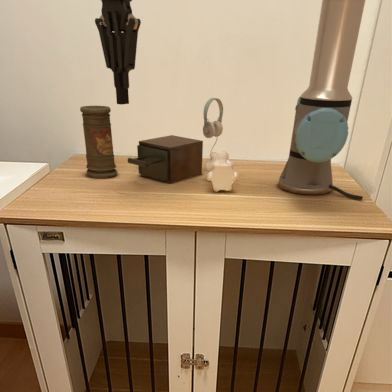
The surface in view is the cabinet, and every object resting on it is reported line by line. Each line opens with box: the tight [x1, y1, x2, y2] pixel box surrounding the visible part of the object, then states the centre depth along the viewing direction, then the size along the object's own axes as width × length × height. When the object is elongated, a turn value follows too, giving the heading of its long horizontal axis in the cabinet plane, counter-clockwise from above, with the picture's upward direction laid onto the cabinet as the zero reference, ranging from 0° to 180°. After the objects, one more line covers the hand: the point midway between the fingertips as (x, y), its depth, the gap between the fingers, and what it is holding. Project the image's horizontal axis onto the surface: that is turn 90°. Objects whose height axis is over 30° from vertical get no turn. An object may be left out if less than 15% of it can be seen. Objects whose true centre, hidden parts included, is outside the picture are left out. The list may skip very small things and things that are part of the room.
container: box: [79, 105, 118, 179], centre depth 120 cm, size 9×9×18 cm
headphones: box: [202, 97, 224, 152], centre depth 128 cm, size 8×4×20 cm, turn 139°
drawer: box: [127, 144, 169, 181], centre depth 121 cm, size 20×11×8 cm, turn 141°
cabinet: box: [138, 134, 204, 184], centre depth 124 cm, size 15×13×10 cm
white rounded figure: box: [204, 150, 239, 193], centre depth 116 cm, size 15×9×8 cm, turn 2°
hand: (123, 103), depth 102 cm, fingers closed
